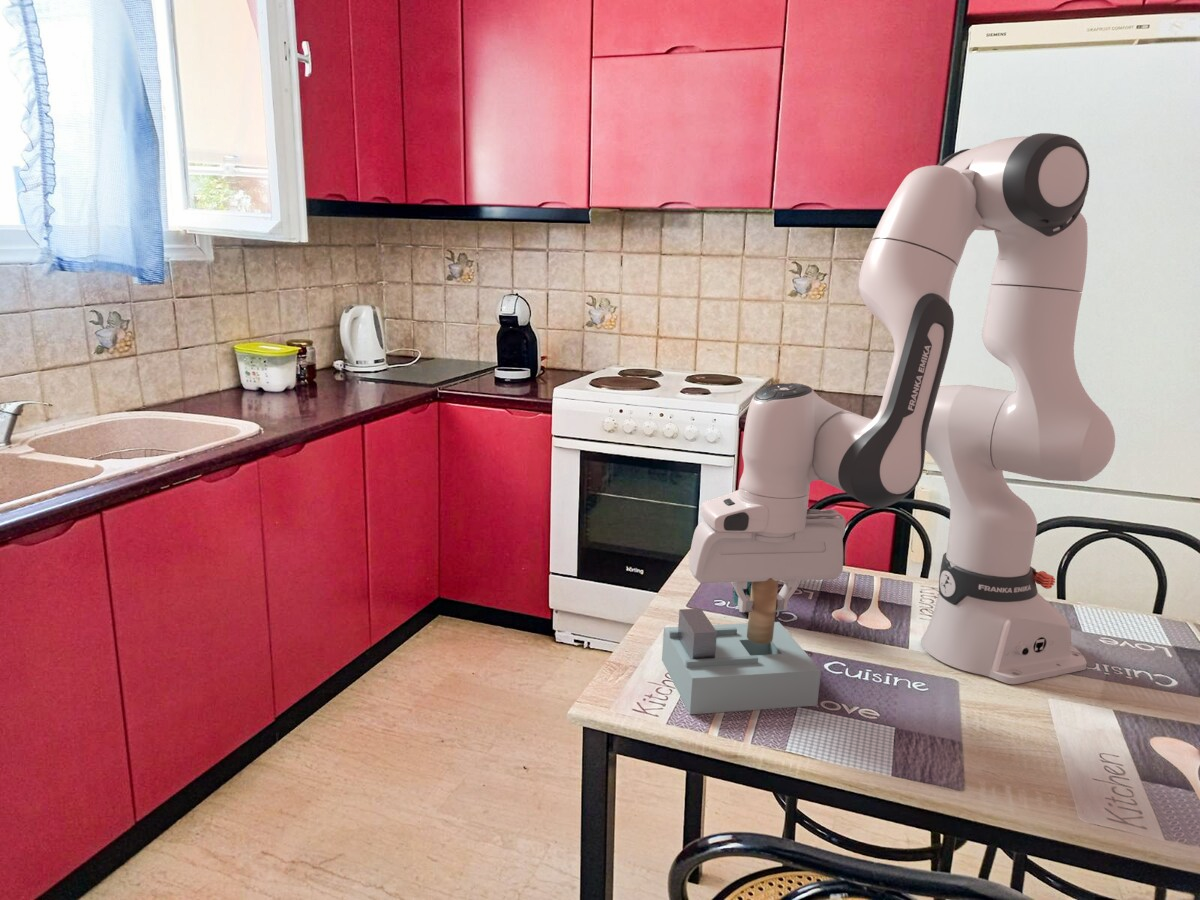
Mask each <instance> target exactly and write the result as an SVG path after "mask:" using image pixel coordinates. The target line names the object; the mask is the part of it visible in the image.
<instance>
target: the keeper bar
mask: <svg viewBox="0 0 1200 900" xmlns="http://www.w3.org/2000/svg"><path fill="white" fill-rule="evenodd" d="M713 625H714V624H712V622H711V620H710V619H709V618H708V617H707V615H706V613H705V612H704V611H703V609H702V608H683V609H682V608H681V609H679V611H678V625H677V627H678V638H679V640H680V642H681V643H682V645H683V647H684V648H685V650H686V652H687V654H688V655H689V657H690V659H691V660H692V659H710V658H715V652H716V639H717V631H716V630H715V628H714V627H713Z"/></svg>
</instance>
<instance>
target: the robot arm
mask: <svg viewBox="0 0 1200 900" xmlns="http://www.w3.org/2000/svg"><path fill="white" fill-rule="evenodd" d="M1089 185H1090V165H1089V161H1088V156H1087V154H1086V153H1085V150H1084V148H1083V146H1082V145H1081V144H1080V143H1079V142H1078V141H1077V140H1076V139H1075V138H1073V137H1071V136H1068V135H1065V134H1060V133H1048V132H1046V133H1045V132H1042V133H1041V132H1040V133H1035V134H1033V135H1029V136H1025V135H1024V136H1015V137H1007V138H1002V139H997V140H994V141H991V142H989V143H985V144H983V145H979V146H976V147H972V148H965V149H960V150H959V151H958V150H957V151H956V152H954V153H952V154H950V155H948V156H946V157H945V158H944V159H942V160H941V161H940V162H938V163H937V165H933V164H931V165H926V166H921V167H918V168H916V169H914V170H913V171H911V172H909V174H907V175H906V176H905V178H904V179H903V180H902V181H901V184H899V186H898V188H897V190H896V191H895V193H894V194H893V196H892V197H891V199H890V201H889V203H888V205H887V207H886V209H885V210H884V212H883V214H882V216H881V217H880V220H879V222H878V224H877V226H876V228H875V230H874V233H873V236H872V238H871V241H870V243H869V245H868V247H867V250H866V253H865V255H864V258H863V261H862V263H861V267H860V271H859V277H858V284H857V285H858V291H859V294H860V297H861V299H862V301H863V303H864V305H865V307H866V308H867V310H868V311H869V312H870V313H871V314H872V315H873V317H875V319H876V320H878V321H879V322H880V323H881V324H882V325H884V326H885V328H886V329H887V330H888V332H889V333H890V336H891V337H892V341H893V347H894V351H893V358H892V362H891V366H890V368H889V369H890V370H889V373H888V377H887V381H886V384H885V387H884V390H883V391H884V392H883V395H882V399H881V402H880V406H879V408H878V411H877V413H876V415H875V416H874V417H873V418H869V417H866V416H863V415H860V414H858V413H856V412H853V411H849V410H846V409H845V408H842V407H839V406H837V405H835V404H833V403H831V402H829V401H827V400H826V399H824V398H822V397H820V396H819V395H818V394H817V393H816V392H815V390H814V389H813V387H811V386H809V385H806V384H803V383H794V382H791V383H775V384H770V385H767V386H765V387H762V388H761V389H759V390H757V391H756V392H755V393H754V394H753V396H752V398H751V400H750V402H749V406H748V408H747V414H746V418H745V421H744V422H745V424H744V431H743V437H742V438H743V439H742V449H741V454H742V460H743V470H742V474H741V477H740V480H739V482H738V483H739V485H738V489H737V490H734V491H732V492H730V493H726V494H723V495H721V496H718V497H714V498H712V499H708V500H706V501H703V502H702V503H701V506H700V515H701V517H702V518H703V520H702V521H700V523H699V522H698V523H699V524H697V526H696V527H695V529H694V532H693V537H692V540H691V546H690V551H689V552H690V553H689V558H688V559H689V560H688V568H689V571H690V573H691V575H692V576H693V577H694V579H696V581H697V582H698V583H700V584H716V583H717V584H718V583H720V584H721V583H723V584H724V583H730V584H731V586H732V588H733V587H734V589H735V591H736V593H737V595H738V606H737V608H738V611H739V612H740V613H749V612H752V611H753V608H752V606H753V599H752V598H751V597H750V596H749V595H745V594H744V592H743V590H742V588H743V589H746V588H747V582H760V581H767V580H768V579H769V578H772V579H773V580H774V581H778V582H783V586H782V587H781V589H780V591H779V592H778V593H777V601H776V611H775V612H786V611H788V605H789V600H790V598H791V597H792V596H793V595H794V593H795V592H796V591H797V589H798V587H799V581H822V580H823V581H824V580H828V581H829V580H837V579H838V578H839V577H840V575H841V574H842V573H843V570H844V569H843V568H844V542H843V541H844V540H843V538H844V536H845V533H846V523H847V522H846V518H845V517H844V515H843V514H841V513H839V512H838V511H837V510H836V509H833V508H832V509H831V508H828V509H808V506H809V499H810V497H809V496H810V486H811V484H812V482H814V481H822V482H824V483H825V484H828V485H829V486H832V487H834V488H837V489H838V490H840V491H843V492H845V494H847V495H848V496H850V497H852V498H853V499H855V500H856V501H858V502H860V503H861V504H863V505H865V506H866V507H870V508H877V509H879V508H881V509H882V508H887V507H889V506H892V505H894V504H896V503H899V502H901V501H903V500H904V499H905V498H906V497H907V496H908V495H910V493H911V492H913V491H914V490H915V488H916V487H917V485H918V484H919V482H920V480H921V477H922V474H923V472H924V466H925V457H926V452H927V453H928V454H929V456H930V457H931V458H932V459H933V461H934V462H935V463H936V464H935V465H936V466H937V467H938V468H939V471H940V472H941V475H942V478H943V480H944V482H945V486H946V488H947V492H948V497H949V505H950V506H949V507H950V510H949V511H950V512H949V529H948V538H947V546H946V552H945V553H943V555H942V557H941V558H942V559H941V563H940V570H939V577H938V579H939V580H938V595H937V599H936V602H935V607H934V609H933V612H932V615H931V618H930V620H929V624H928V626H927V628H926V630H925V632H924V634H923V636H922V637H921V641H920V642H921V645H922V647H923V649H924V650H925V651H926V653H928V654H929V655H930V656H932V657H933V658H935V659H936V660H938V661H940V662H941V663H943V664H945V665H948V666H950V667H953V668H955V669H958V670H961V671H965V672H969V673H973V674H976V675H981V676H985V677H989V678H991V679H994V680H997V681H999V682H1002V683H1005V684H1009V685H1019V684H1023V683H1027V682H1032V681H1033V682H1034V681H1037V680H1038V681H1039V680H1041V679H1048V678H1051V677H1057V676H1060V675H1061V676H1062V675H1065V674H1071V673H1075V672H1079V671H1084V670H1087V660H1086V657H1084V655H1083V654H1082V653H1081V652H1080V651H1079V649H1077V648H1076V647H1075V646H1073V645H1072V630H1071V625H1070V623H1069V621H1068V619H1067V618H1066V616H1064V614H1062V613H1061V612H1060V611H1059V610H1058V609H1057V608H1055V607H1054V606H1053V605H1052V604H1051V603H1050V602H1049V601H1048V600H1047V599H1045V598H1044V596H1042V595H1041V594H1040V593H1039V592H1038V587H1037V584H1038V585H1040V586H1041V587H1042V588H1043V589H1046V590H1047V589H1052V587H1053V586H1055V583H1056V581H1055V580H1056V578H1055V577H1054V576H1053V575H1051V574H1049V573H1047V572H1046V571H1045V570H1041V571H1036V569H1035V568H1034V567H1032V566H1031V564H1032V560H1033V554H1034V547H1035V541H1036V535H1037V531H1038V530H1037V529H1038V522H1037V518H1036V515H1035V513H1034V511H1033V510H1032V507H1031V506H1030V505H1029V504H1028V503H1027V502H1026V500H1023V498H1021V497H1019V496H1018V495H1017V494H1016V493H1015V492H1013V490H1012V489H1011V488H1010V487H1009V485H1008V484H1007V481H1006V479H1005V476H1004V473H1003V471H1004V472H1008V473H1014V474H1017V475H1023V476H1027V477H1032V478H1035V479H1040V480H1046V481H1053V482H1054V481H1058V482H1088V481H1089V480H1091V479H1093V478H1094V477H1096V476H1098V475H1099V474H1100V473H1101V472H1102V471H1103V470H1104V469H1105V468H1106V467H1107V466H1108V465H1109V463H1110V462H1111V459H1112V457H1113V454H1114V451H1115V447H1116V434H1115V429H1114V425H1113V424H1112V422H1111V420H1110V418H1109V417H1108V415H1107V414H1106V412H1105V411H1103V409H1101V407H1099V406H1098V405H1097V404H1096V403H1095V402H1094V401H1093V399H1092V398H1091V397H1090V396H1089V394H1088V393H1087V391H1086V389H1085V387H1084V385H1083V383H1082V382H1081V379H1080V378H1079V373H1078V371H1077V366H1076V363H1075V349H1074V348H1075V338H1076V330H1077V322H1078V315H1079V311H1080V305H1081V299H1082V296H1083V295H1082V294H1083V293H1082V292H1083V290H1084V286H1085V285H1084V284H1085V278H1086V272H1087V271H1086V269H1087V258H1088V223H1087V220H1086V217H1084V215H1083V214H1082V213H1081V212H1082V209H1083V207H1084V204H1085V201H1086V197H1087V195H1088V191H1089ZM974 231H994V235H995V237H996V241H997V247H998V249H997V250H998V253H997V256H996V257H997V258H996V261H995V265H994V268H993V272H992V277H991V282H990V288H989V293H988V298H987V299H988V300H987V304H986V309H985V315H984V320H983V326H982V329H981V331H982V332H981V338H982V342H983V345H984V347H985V349H986V350H987V351H988V352H989V354H990V355H992V356H993V357H994V358H995V359H997V360H998V361H999V362H1001V363H1003V364H1004V365H1005V366H1007V367H1008V368H1009V369H1010V371H1011V372H1012V374H1013V377H1014V379H1015V386H1016V387H1015V391H1012V390H1005V389H1001V388H1000V389H998V388H992V387H986V386H985V387H984V386H980V385H972V384H953V385H952V384H951V385H941V382H942V378H943V375H944V371H945V367H946V364H947V359H948V357H949V352H950V348H951V343H952V338H953V332H954V325H955V324H954V321H955V317H954V312H953V311H954V310H953V309H952V307H951V305H950V295H951V290H952V289H951V288H952V285H953V282H954V281H953V280H954V277H955V274H956V272H957V269H958V268H959V267H958V266H959V264H960V262H961V259H962V256H963V254H964V251H965V247H966V244H967V242H968V240H969V238H970V236H971V235H972V234H973V233H974ZM734 589H733V590H734Z"/></svg>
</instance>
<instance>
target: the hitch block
mask: <svg viewBox="0 0 1200 900" xmlns="http://www.w3.org/2000/svg"><path fill="white" fill-rule="evenodd" d="M712 625H713V627H714V628H715V630H716V631H717V639H716V652H715V658H710V659H692V660H691V659H690V657H689V655H688V654H687V652H686V650H685V648H684V647H683V645H682V643H681V642H680V640H679V638H678V626H667V627H663V637H662V653H661V661H662V664H663V665H664V667H665V669H666V671H667V674H668V675H669V677H670V678H671V681H672V683H673V684H674V687H675V688H676V690H677V692H678V694H679V696H680V698H681V700H682V702H683V703H684V706H685V707H686V709H687V712H688V715H699V714H700V715H701V714H713V713H714V714H715V713H716V714H717V713H730V712H744V711H759V710H771V709H788V708H802V707H804V708H805V707H815V706H818V701H819V692H820V682H821V673H822V670H821V668H820V667H819V666H818V665H817V664H816V663H815V662H814V660H813V659H812V658H811V657H810V656H809V655H808V653H806V651H805V650H804V649H803V648H802V647H801V646H800V645H799V643H798V642H797V641H796V639H795V638H794V637H793V636H792V635H791V634H790V632H788V631H787V629H786V627H784V626H783V624H782V623H780V621H774V632H773V640H772V642H770V643H767V644H759V643H755V642H752V641H750V640H749V639H748V638H747V629H748V622H747V623H729V624H725V623H724V624H712Z"/></svg>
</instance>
